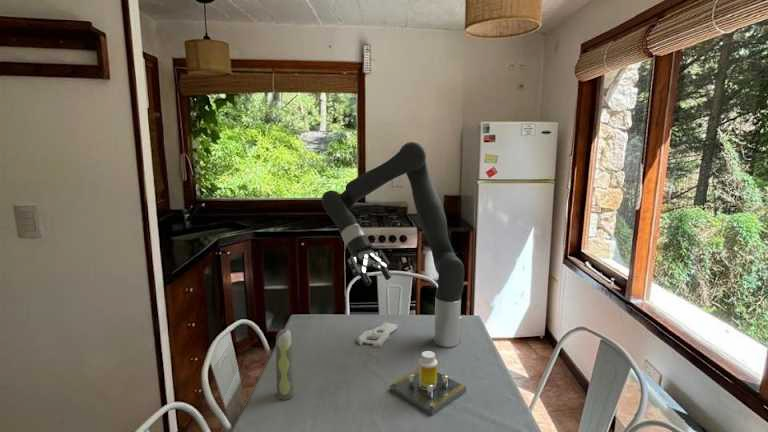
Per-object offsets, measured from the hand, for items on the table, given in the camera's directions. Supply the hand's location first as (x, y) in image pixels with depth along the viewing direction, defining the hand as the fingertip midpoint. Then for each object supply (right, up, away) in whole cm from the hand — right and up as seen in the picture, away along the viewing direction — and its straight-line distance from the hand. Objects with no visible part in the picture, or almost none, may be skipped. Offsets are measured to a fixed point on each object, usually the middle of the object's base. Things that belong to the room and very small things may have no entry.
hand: (379, 281), depth 132 cm
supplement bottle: (+14, -30, -10) cm, 34 cm away
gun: (-1, -26, +24) cm, 35 cm away
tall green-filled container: (-27, -31, -13) cm, 43 cm away
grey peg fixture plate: (+14, -31, -10) cm, 36 cm away
